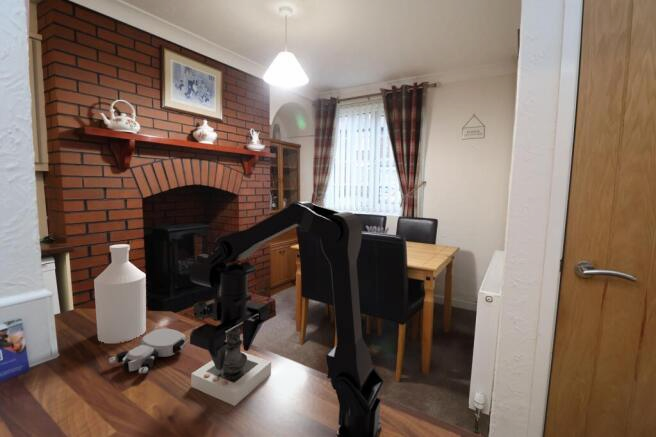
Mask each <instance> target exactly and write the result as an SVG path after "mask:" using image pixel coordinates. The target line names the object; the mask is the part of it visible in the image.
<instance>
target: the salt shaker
mask: <svg viewBox="0 0 656 437" xmlns="http://www.w3.org/2000/svg"><path fill="white" fill-rule="evenodd" d="M225 342H227V343H228V346H227V350H226V355H225V359H224V363H223V367H222V369H223V372H222V373H221V374H220V378H223V379H225V380H228V381H230V382H233V383H235V382H236V381H237V380H239V379H240V378H241V377H243V376H244V375H245V374H246V371H245V370H244V369H243V367H244V365H245V362H246V360H247V356H246V355H245V354H244V353H245V352H244V353H241V352H242V351H241V345H243V340H241V328H240V327H239V326H237V327H235V328H233V329H231V330H230V331H228V332H226V340H225Z"/></svg>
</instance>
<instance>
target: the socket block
mask: <svg viewBox="0 0 656 437" xmlns="http://www.w3.org/2000/svg"><path fill="white" fill-rule="evenodd" d="M241 353H244V354H245V355H246V356H247V360H246V362H245V365H244V367H243V369H244V370H245V375H244V376H243V377H241V378H240V379H239V380H237V381H234V382H230V381H228V380H225V379H223V378H221V376H219V375H221V373H222V372H223V369H221V370H217V369H216V367H215V364H214V362H213V360H210V361H209V362H207V363H206V364H204V365H203V366H201V367H200V368H199V367H198V369H197V370H194V371H193V372H191V374H190V377H191V380H190V383H191V384H190V386H191V388H193V389H196V390H198V391H200V392H203V393H205V394H207V395H209V396H212V397H214V398H216V399H219V400H221V401H223V402H225V403H226V404H230V405H232V406H234V407H236V406H237V405H238V404H239V403H240V402H241V401H242V400H244V399H245V398H246V396H248V395H249V394H250V393H251V392H252V391H253V390H255V388H257V387H258V386H259V385H260V384H261V383H263V381H265V380H266V379H267V378H268V377H269V376H270V375H271V374H272V361H270V360H267V359H264V358H261V357H259V356H256V355H253V354H250V353H247V352H244V351H241Z"/></svg>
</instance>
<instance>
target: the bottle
mask: <svg viewBox="0 0 656 437" xmlns="http://www.w3.org/2000/svg"><path fill="white" fill-rule="evenodd" d="M130 248H131V245H130V244H126V243H123V244H122V243H120V244H113V245H110V246H109V252H110V254H111V262H110V264H108V266H107V267H106V268H105V269H104V270H103V271H102V272H101V273H100V274H99V275H97V276H96V277H95V278H94V280H93V286H94V300H95V313H96V314H95V315H96V329H97V330H96V332H97V340H98V341H99V342H100V341H101V342H100V343H102V342H104V343H103V344H121V343H126V342H129V341H132V340H135V339H137V338H139V337H141V336H142V335H143V334H144V333H145V332H146V331H147V311H146V310H147V308H146V307H147V306H146V304H147V298H146V297H147V294H146V292H147V289H146V288H147V286H146V284H147V281H146V280H147V278H146V277H147V276H146V273H145V272H143V271H142V270H140V269H139V268H138V267H137V266H135V265H134V264H133V263H132V262H130V261H129V257H130V256H129V253H130V252H129V251H131V249H130ZM140 335H141V336H140ZM136 337H137V338H136ZM134 338H135V339H134ZM125 341H126V342H125ZM120 342H121V343H120Z"/></svg>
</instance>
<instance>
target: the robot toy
mask: <svg viewBox="0 0 656 437" xmlns="http://www.w3.org/2000/svg"><path fill="white" fill-rule="evenodd" d="M188 342H190V337H189V338H188V339H187V340H186V335H185V334H184V333H182V332H181V331H179V330H177V329H172V328H158V326H156V327H155V328H154V329H153V330H151V331H150V332H149V333H147V334H146V335H144V336H143V337H142V338H141V339H140V345H138V346H136V347H134V348H133V349H131V350H128V351H127V350H123V351H120V352H118V353H117V354H116V356H112V357H110V358H109V359H108V363H109V364H111V365H112V364H115V363H116V362H117V363H118V364H120V363H122V369H123V370H124V371H129V372H134V371H137V370H138V373H139V374H146V373H147V372H148V371H150V370H151V369H152V367H153V366H154V361H155V360H156V359H157V358H158V357H159V358H160V357H161V358H162V357H163V358H167V357H171V356H173V355H175V354H177V353H178V352H180V351H181V350H183V349H184V348H185V346H186V345H187V344H188Z"/></svg>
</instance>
